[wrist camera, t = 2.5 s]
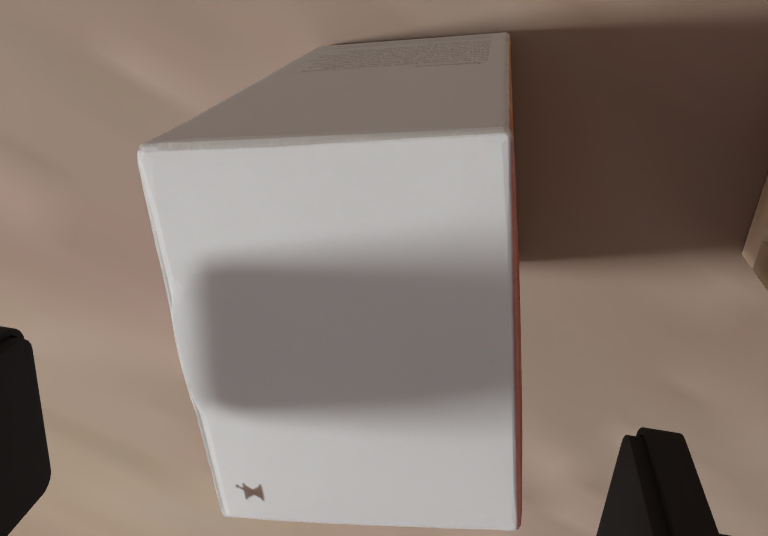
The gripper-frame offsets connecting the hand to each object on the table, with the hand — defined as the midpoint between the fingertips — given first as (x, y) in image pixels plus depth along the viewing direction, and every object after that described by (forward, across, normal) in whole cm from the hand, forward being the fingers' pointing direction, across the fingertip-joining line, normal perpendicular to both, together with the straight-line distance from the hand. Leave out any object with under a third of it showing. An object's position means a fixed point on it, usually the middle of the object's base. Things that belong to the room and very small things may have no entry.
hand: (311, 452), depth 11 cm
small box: (+15, 0, -1) cm, 15 cm away
